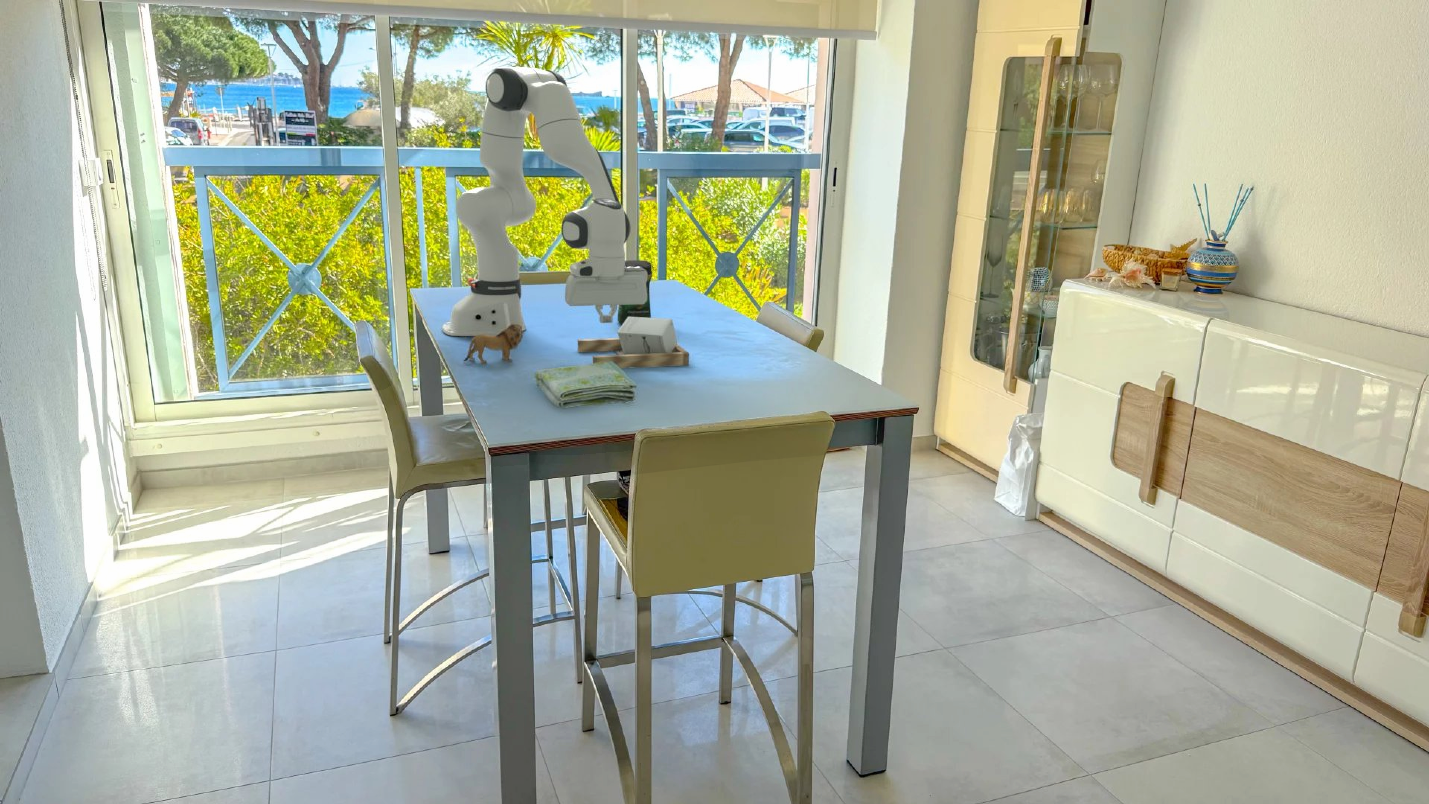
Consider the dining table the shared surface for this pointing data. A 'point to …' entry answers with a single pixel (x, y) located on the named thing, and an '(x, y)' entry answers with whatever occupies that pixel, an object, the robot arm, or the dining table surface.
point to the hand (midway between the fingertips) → (606, 322)
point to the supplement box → (647, 335)
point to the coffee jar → (637, 309)
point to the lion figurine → (496, 343)
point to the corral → (632, 360)
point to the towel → (586, 384)
